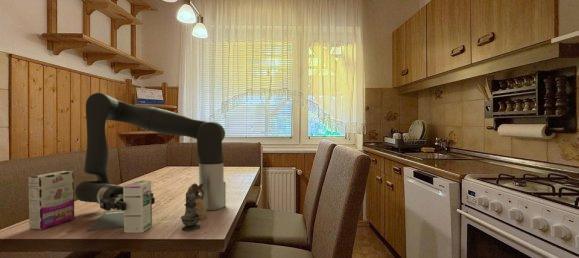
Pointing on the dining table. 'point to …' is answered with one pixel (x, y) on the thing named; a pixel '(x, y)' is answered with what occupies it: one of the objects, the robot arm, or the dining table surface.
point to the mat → (109, 221)
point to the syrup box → (137, 206)
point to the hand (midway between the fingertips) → (139, 203)
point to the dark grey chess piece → (190, 213)
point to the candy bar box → (50, 199)
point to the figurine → (199, 200)
